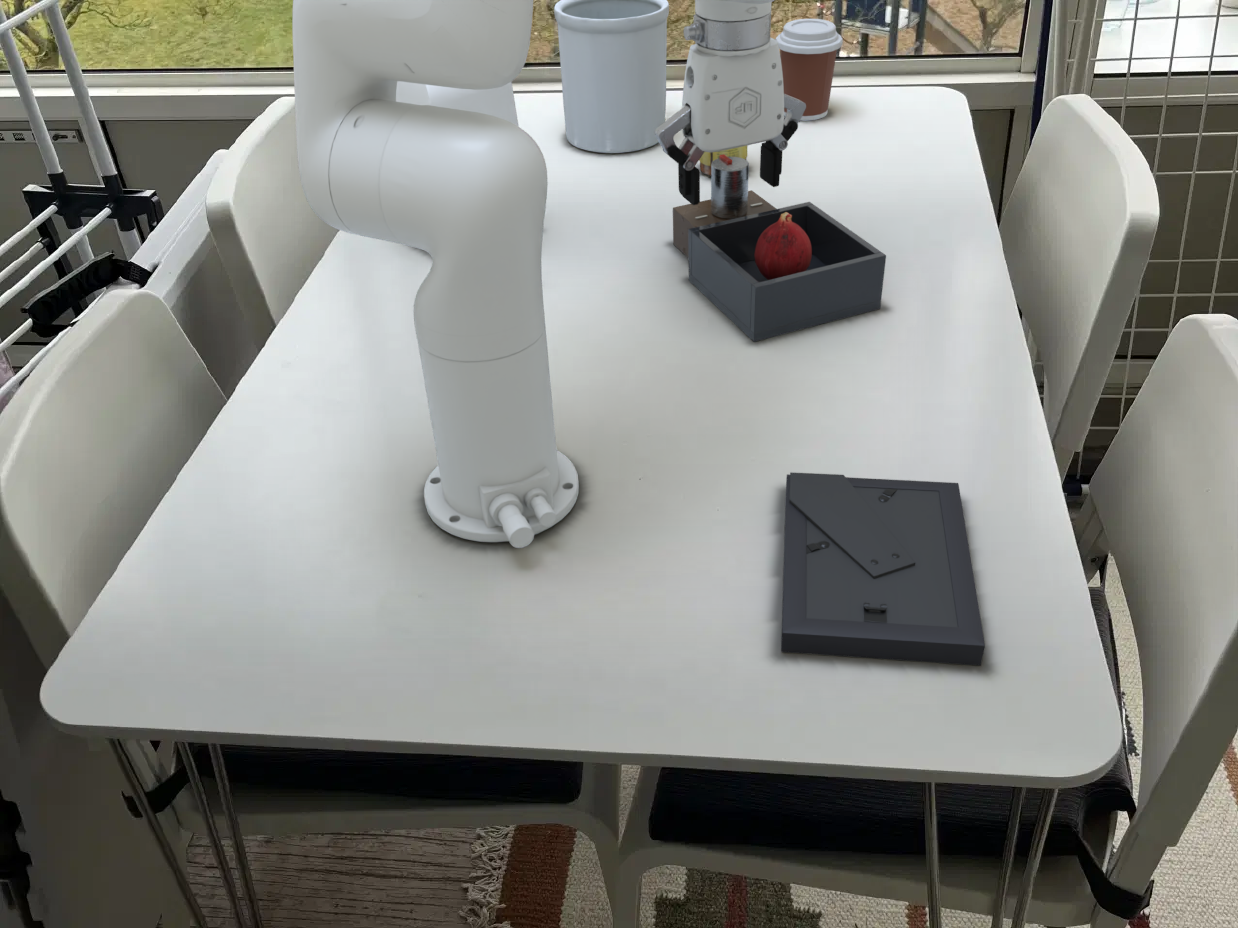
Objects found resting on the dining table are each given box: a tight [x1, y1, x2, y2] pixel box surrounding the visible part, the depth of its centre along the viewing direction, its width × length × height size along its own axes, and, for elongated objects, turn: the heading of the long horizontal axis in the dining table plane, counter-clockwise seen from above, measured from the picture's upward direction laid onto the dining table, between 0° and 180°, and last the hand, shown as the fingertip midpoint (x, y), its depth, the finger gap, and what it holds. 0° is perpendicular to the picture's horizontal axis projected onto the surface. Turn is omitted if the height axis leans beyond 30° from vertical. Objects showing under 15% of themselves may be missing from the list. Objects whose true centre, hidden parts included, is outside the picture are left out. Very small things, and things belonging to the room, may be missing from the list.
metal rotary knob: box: [710, 154, 750, 219], centre depth 123 cm, size 4×4×6 cm
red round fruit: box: [754, 212, 812, 280], centre depth 116 cm, size 6×6×8 cm
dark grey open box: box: [688, 201, 887, 343], centre depth 117 cm, size 15×15×6 cm
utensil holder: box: [553, 0, 670, 154], centre depth 152 cm, size 15×15×18 cm
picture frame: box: [780, 471, 986, 666], centre depth 83 cm, size 13×2×18 cm
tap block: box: [672, 190, 777, 259], centre depth 126 cm, size 8×10×5 cm
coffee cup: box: [774, 18, 844, 122], centre depth 158 cm, size 9×9×12 cm
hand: (730, 191), depth 124 cm, fingers open, 9 cm apart
